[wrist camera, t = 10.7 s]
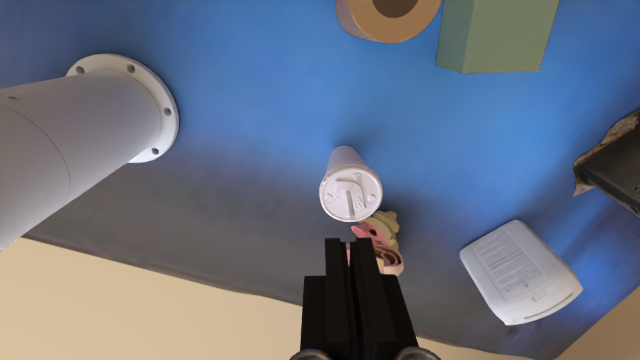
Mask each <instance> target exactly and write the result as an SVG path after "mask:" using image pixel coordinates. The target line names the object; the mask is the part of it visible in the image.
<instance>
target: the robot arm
mask: <svg viewBox="0 0 640 360" xmlns="http://www.w3.org/2000/svg"><path fill="white" fill-rule="evenodd" d="M133 66H134V68H135V69H134V68H133ZM169 109H170V110H171V112H170V111H169ZM178 129H179V115H178V110H177V106H176V103H175V101H174V98H173V96H172V94H171V93H170V91H169V89H168V88H167V86H166V85H165V84H164V83H163V81H162V80H161V79H160V78H159V77H158V76H157V75H156V74H155V73H154V72H153V71H152V70H150V69H149V68H148V67H146V66H144V65H143V64H141V63H140V62H138V61H136V60H133V59H131V58H129V57H125V56H122V55H118V54H96V55H92V56H88V57H85V58H83V59H81V60H79V61H78V62H76V63H75V64H74V65H73V66H72V67H71V68H70V69H69V71H68V73H67V74H66V76H65V77H62V78H56V79H51V80H45V81H40V82H34V83H29V84H24V85H18V86H13V87H7V88H2V89H0V252H1V251H2V250H4V249H5V248H6V247H7V246H9V245H10V244H11V243H13V242H14V241H15V240H16V239H18V238H19V237H20V236H22V235H23V234H25V233H26V232H27V231H29V230H30V229H31V228H33V227H34V226H36V225H37V224H38V223H40V222H41V221H43V220H44V219H46V218H47V217H48V216H50V215H51V214H53V213H54V212H56V211H57V210H59V209H60V208H62V207H63V206H65V205H66V204H68V203H69V202H71V201H72V200H74V199H75V198H76V197H78V196H79V195H81V194H82V193H84V192H85V191H87V190H88V189H89V188H91V187H92V186H94V185H95V184H97V183H98V182H100V181H101V180H102V179H104V178H105V177H107V176H108V175H110V174H111V173H113V172H114V171H115V170H117V169H118V168H120V167H121V166H123V165H124V164H126V163H127V162H129V163H141V162H147V161H151V160H154V159H156V158H157V157H159V156H161V155H162V154H164V153H165V152H166V151H167V150H168V149H169V148H170V147H171V146H172V144H173V143H174V141H175V139H176V137H177V134H178ZM325 259H326V276H305V278H304V292H303V309H302V327H301V345H300V352H298V353H296V354H295V355H293V356H292V357H291V358H290V360H441V359H440V358H439V357H438V356H437V355H435V354H434V353H433V352H431V351H429V350H427V349H424V348H420V347H419V345H418V342H417V339H416V336H415V333H414V330H413V326H412V323H411V320H410V317H409V314H408V311H407V307H406V304H405V301H404V298H403V295H402V292H401V288H400V285H399V282H398V279H397V277H396V275H395V274H380V271H379V267H378V263H377V259H376V255H375V251H374V247H373V243H372V239H371V237H363V238H356V239H355V242H350V262H349V264H348V256H347V248H346V242H340V238H325Z"/></svg>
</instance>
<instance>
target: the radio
mask: <svg viewBox="0 0 640 360" xmlns="http://www.w3.org/2000/svg"><path fill="white" fill-rule="evenodd" d="M573 171H574V174H575V177H576V181H575V184H576V191H575V193H574V197H575V196H577V195H579V194H581V193H583V192H585V191H587V190H590V189H593V188H596V187H597V188H598V189H600V190H601V191H602V192H603V193H604V194H606V195H607V196H608V197H610V198H611V199H613V200H614V201H616V202H618V203H619V204H620V205H622V206H623V207H624V208H626V209H628V210H629V211H631V212H632V213H633V214H635V215H636V216H637V217H638V218H639V219H640V109H639V110H637V111H635V112H634V113H632V114H630V115H629V116H627V117H625V118H623V119H622V120H620V121H618V122H617V123H616V124H615V126H614V127H613V128H611V129H610V130H608V133H607V135H606V136H605V138H604V139H603V140H602V141H601V143H600V144H598V145H597V146H596V147H595V148H594V149H592V150H591V151H589V152H587V153H586V154H584V155H583V156H581V157H579V158H578V159H577V160H576V161H575V163H574V167H573Z"/></svg>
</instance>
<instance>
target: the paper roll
mask: <svg viewBox="0 0 640 360" xmlns="http://www.w3.org/2000/svg"><path fill="white" fill-rule="evenodd" d="M441 3H442V0H336V15H337V18H338V21H339V23H340V25H341V27H342V28H343V29H344V30H345V31H346V32H347V33H348V34H350V35H352V36H354V37H357V38H362V39H367V40H372V41H377V42H383V43H399V42H403V41H406V40H409V39H411V38H413V37H414V36H416V35H418V34H419V33H420V32H422V31H423V30H424V29H425V28H426V27H427V26H428V25H429V23H430V22H431V21H432V20H433V18H434V17H435V15H436V13H437V11H438V10H439V7H440V5H441Z"/></svg>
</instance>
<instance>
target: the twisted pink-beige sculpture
mask: <svg viewBox="0 0 640 360" xmlns="http://www.w3.org/2000/svg"><path fill="white" fill-rule="evenodd" d="M396 216H397V214H396V213H394V212H392V211H387V212H382V211H377V212H375V213H374V215H373V217H367V218H365V219H363V220H360V221H357V222H358V223H360V224H358V225H354V226H351V229H352V230H353V232H354V233H355V234H356V235H357V236H358V237H359V238H363V237H371V239H372V243H373V247H374V251H375V255H376V259H377V263H378V267H379V271H380V272H382V273H385V274H395V275H396V277H397V276H398V275H399V274H400V273H401V272H402V271H403V268H404V263H403V259H402V257H401V255H400V254H399V252H398V243H397V241H396V236H395V233H396V232H398V229H399V225H398V223H397V222H396ZM372 229H373V230H372ZM346 248H347V256H348V264H349V262H350V243H346Z"/></svg>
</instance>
